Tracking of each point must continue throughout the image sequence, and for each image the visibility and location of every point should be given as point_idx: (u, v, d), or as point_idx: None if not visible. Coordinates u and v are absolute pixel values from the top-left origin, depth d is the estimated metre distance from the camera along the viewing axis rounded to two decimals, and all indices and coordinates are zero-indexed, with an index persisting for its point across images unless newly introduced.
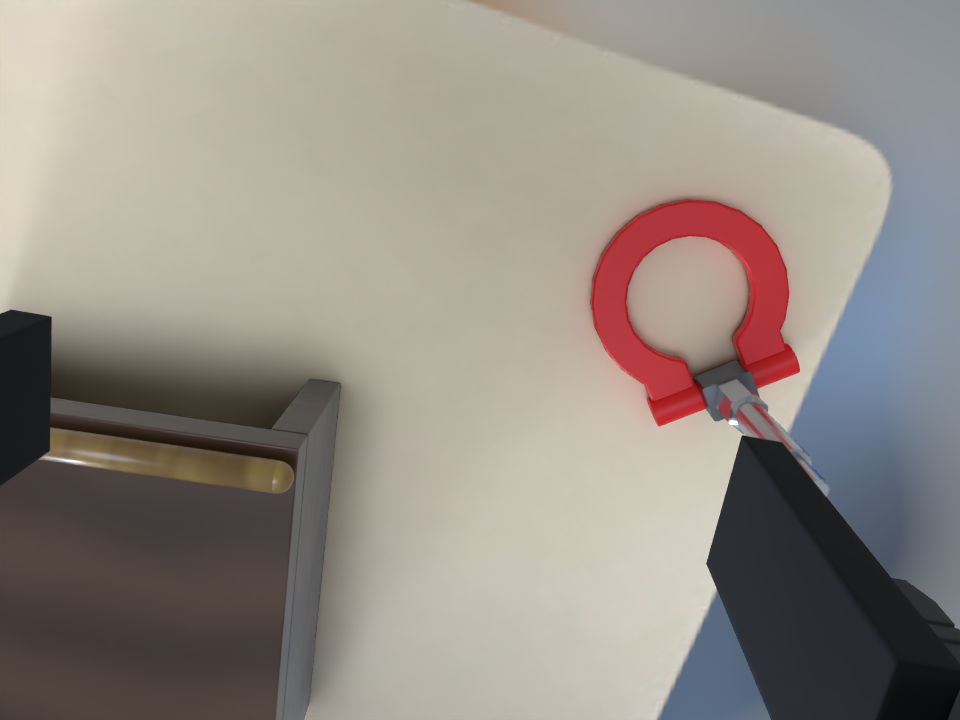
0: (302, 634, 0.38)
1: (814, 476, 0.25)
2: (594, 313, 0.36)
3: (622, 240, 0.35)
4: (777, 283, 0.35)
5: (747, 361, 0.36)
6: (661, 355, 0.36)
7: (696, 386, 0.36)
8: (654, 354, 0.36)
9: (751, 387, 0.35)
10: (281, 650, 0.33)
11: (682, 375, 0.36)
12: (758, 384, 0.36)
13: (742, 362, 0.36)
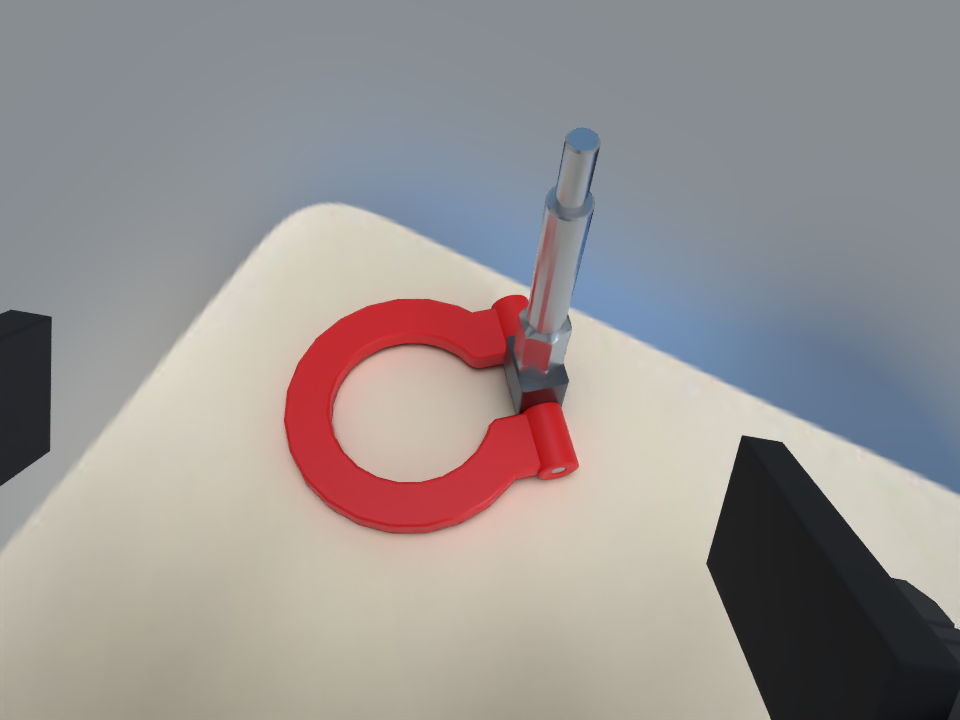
0: None
1: (564, 146, 0.18)
2: (403, 525, 0.26)
3: (313, 474, 0.26)
4: (413, 309, 0.29)
5: (503, 349, 0.29)
6: (479, 448, 0.27)
7: (526, 410, 0.27)
8: (475, 455, 0.27)
9: None
10: None
11: (509, 425, 0.27)
12: None
13: (505, 356, 0.29)
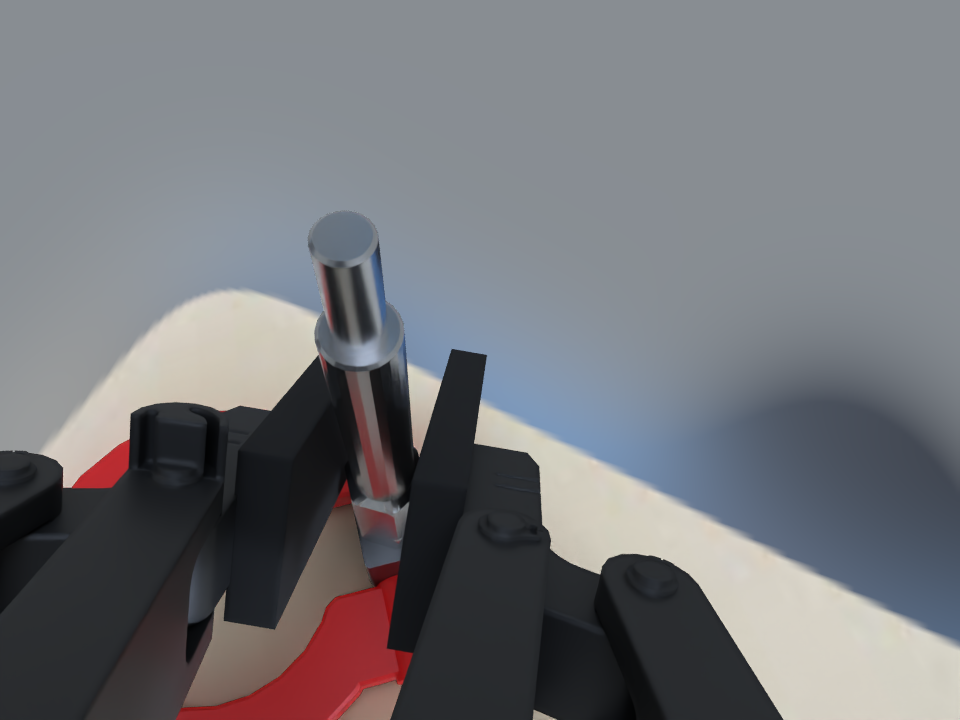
0: None
1: None
2: None
3: None
4: None
5: None
6: (308, 645, 0.18)
7: (382, 582, 0.19)
8: (301, 659, 0.18)
9: None
10: None
11: (356, 607, 0.18)
12: None
13: None
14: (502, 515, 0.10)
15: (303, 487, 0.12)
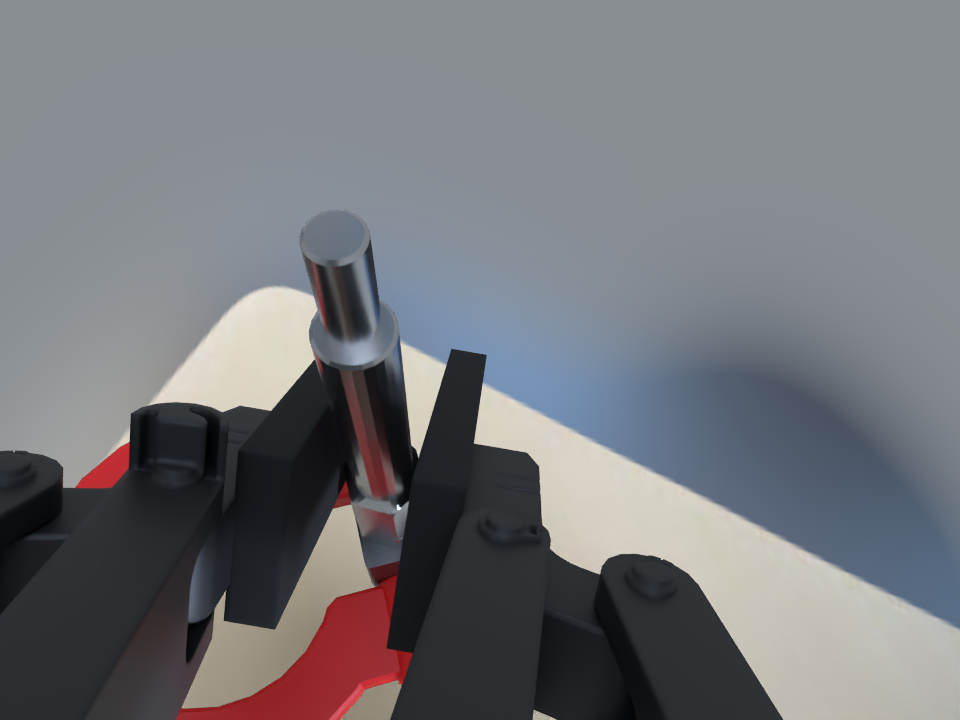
0: None
1: None
2: None
3: None
4: None
5: None
6: (310, 645, 0.18)
7: (383, 582, 0.19)
8: (303, 659, 0.18)
9: None
10: None
11: (357, 607, 0.19)
12: None
13: None
14: (502, 515, 0.10)
15: (303, 487, 0.12)
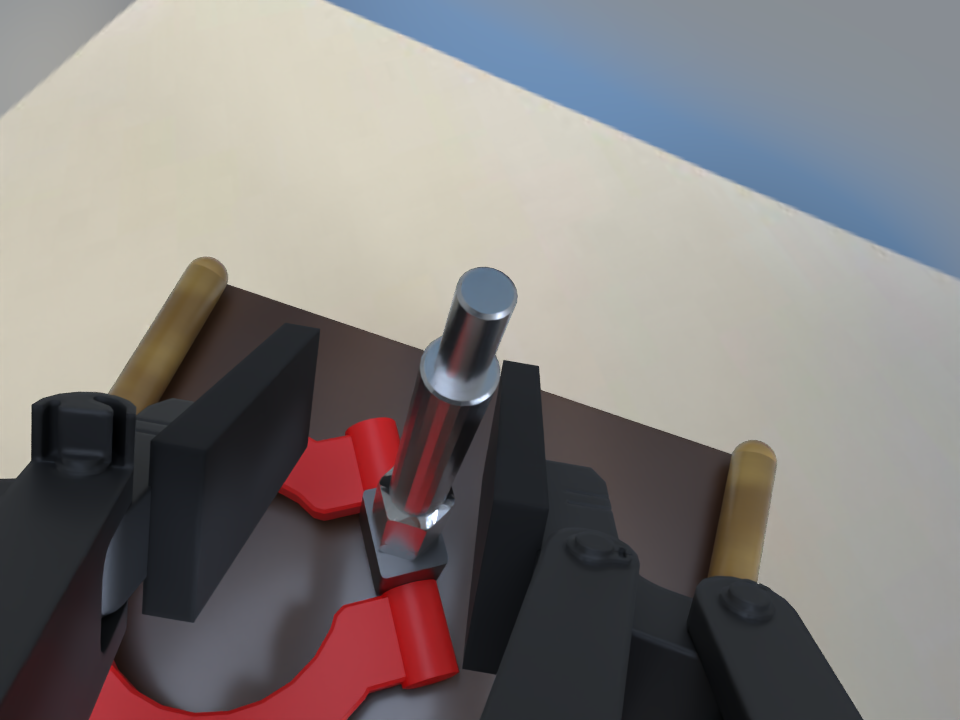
0: None
1: (453, 298, 0.10)
2: None
3: None
4: None
5: (359, 498, 0.21)
6: (318, 651, 0.19)
7: (388, 591, 0.20)
8: (312, 665, 0.19)
9: None
10: None
11: (364, 615, 0.19)
12: None
13: (361, 507, 0.21)
14: (590, 536, 0.10)
15: (224, 479, 0.12)
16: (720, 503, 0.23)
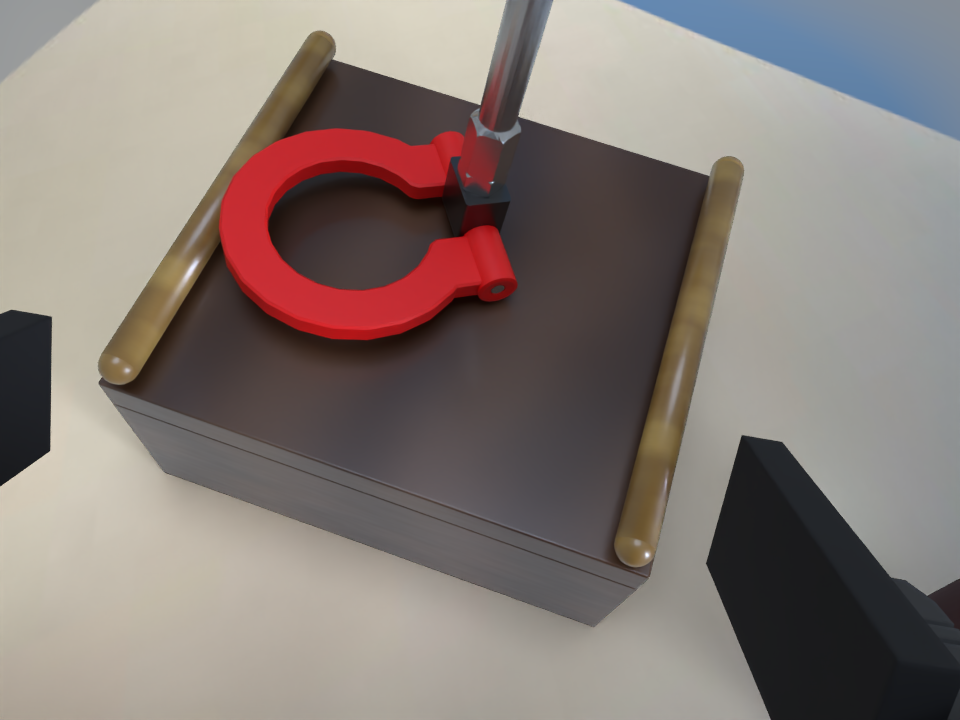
0: None
1: None
2: (345, 326, 0.25)
3: (251, 276, 0.25)
4: (351, 137, 0.29)
5: (443, 179, 0.29)
6: (420, 263, 0.27)
7: (467, 232, 0.28)
8: (417, 269, 0.27)
9: None
10: None
11: (450, 245, 0.27)
12: None
13: (444, 186, 0.29)
14: None
15: None
16: None
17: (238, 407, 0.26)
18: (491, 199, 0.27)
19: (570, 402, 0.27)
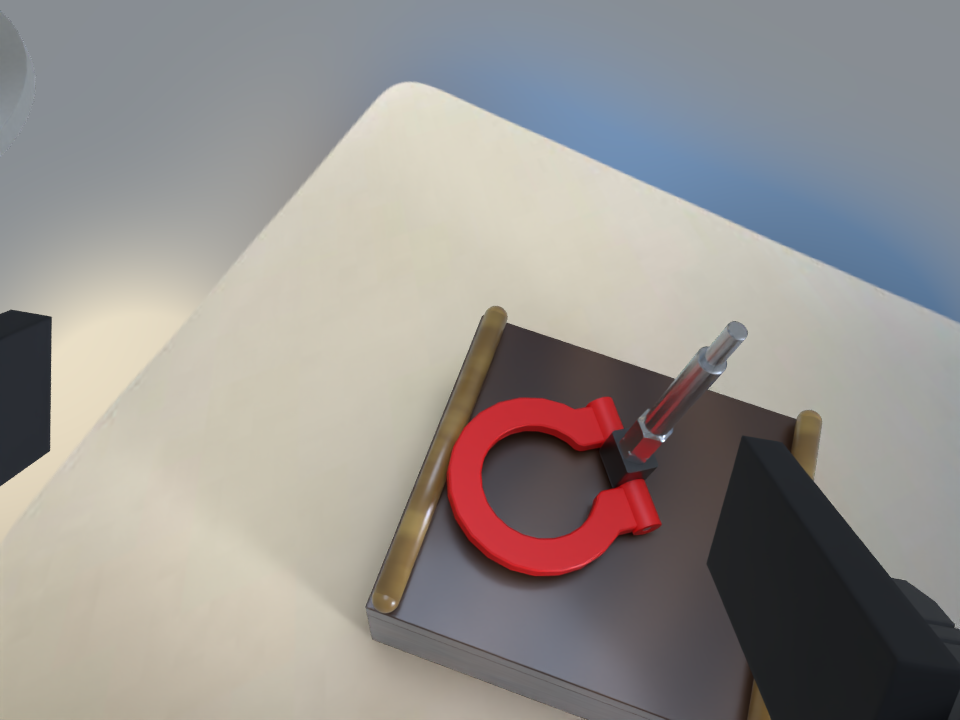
0: None
1: (724, 332, 0.29)
2: (546, 570, 0.35)
3: (478, 532, 0.35)
4: (532, 405, 0.39)
5: (601, 438, 0.39)
6: (592, 512, 0.37)
7: (623, 484, 0.38)
8: (590, 518, 0.37)
9: (627, 431, 0.38)
10: (643, 369, 0.42)
11: (612, 495, 0.37)
12: None
13: (601, 443, 0.39)
14: None
15: None
16: (789, 445, 0.41)
17: (466, 625, 0.36)
18: (644, 466, 0.37)
19: (702, 616, 0.37)
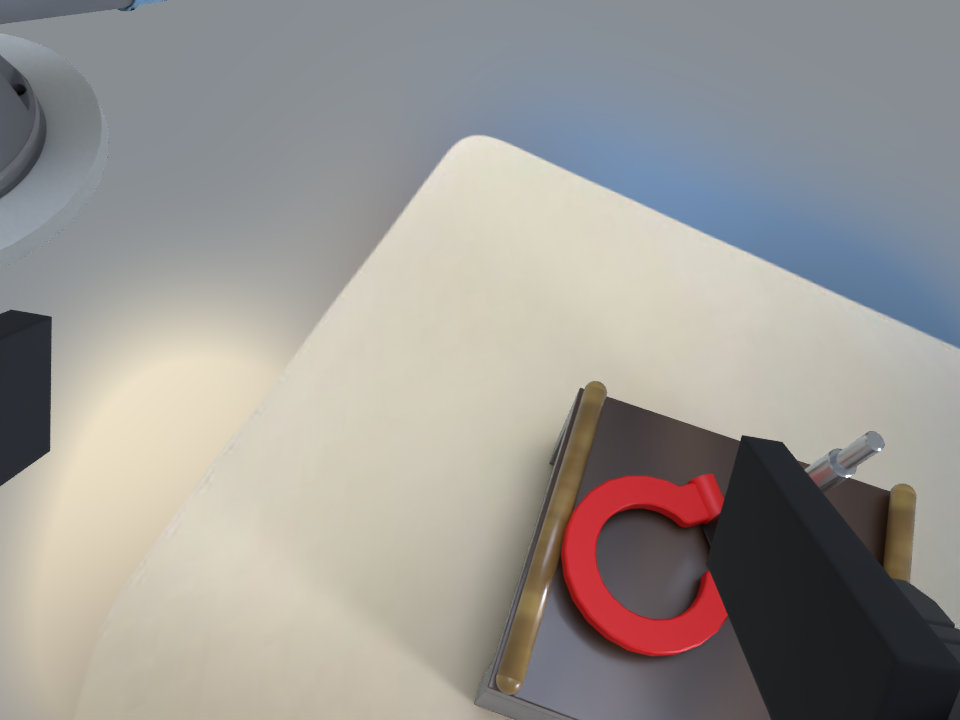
0: None
1: (861, 442, 0.30)
2: (664, 651, 0.36)
3: (597, 615, 0.36)
4: (638, 483, 0.40)
5: (705, 515, 0.40)
6: (702, 591, 0.38)
7: None
8: (702, 598, 0.38)
9: None
10: (738, 441, 0.44)
11: None
12: None
13: (706, 520, 0.40)
14: None
15: None
16: (883, 517, 0.42)
17: (585, 704, 0.37)
18: None
19: None
